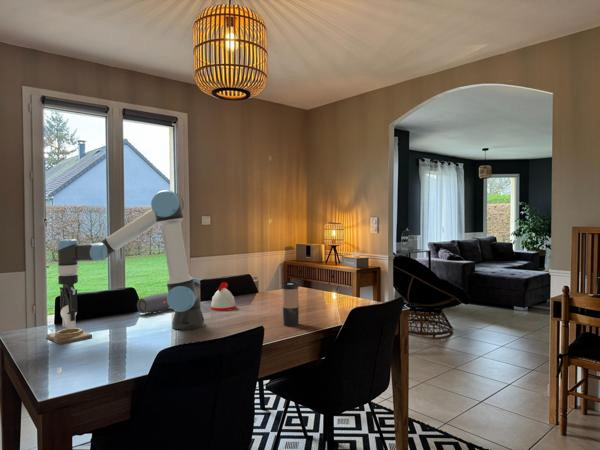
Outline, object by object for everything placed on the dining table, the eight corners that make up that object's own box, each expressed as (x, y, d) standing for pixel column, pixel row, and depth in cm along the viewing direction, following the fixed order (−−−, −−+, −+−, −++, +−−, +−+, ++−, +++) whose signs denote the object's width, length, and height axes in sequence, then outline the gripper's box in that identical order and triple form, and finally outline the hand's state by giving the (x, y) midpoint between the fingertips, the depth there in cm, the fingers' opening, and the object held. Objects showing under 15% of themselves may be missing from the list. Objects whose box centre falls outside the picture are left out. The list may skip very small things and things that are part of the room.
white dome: (240, 307, 247) (239, 281, 247) (225, 311, 235) (225, 284, 235) (221, 305, 254) (220, 280, 254) (205, 309, 242) (205, 283, 242)
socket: (92, 337, 186) (92, 331, 186) (59, 344, 176) (59, 337, 176) (78, 331, 197) (78, 325, 197) (46, 337, 187) (46, 331, 187)
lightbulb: (64, 328, 189) (64, 303, 189) (79, 328, 190) (79, 303, 190) (58, 332, 183) (57, 306, 183) (73, 331, 184) (72, 306, 183)
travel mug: (301, 323, 206) (300, 282, 206) (295, 327, 199) (295, 284, 199) (286, 322, 209) (285, 281, 208) (280, 326, 202) (280, 284, 201)
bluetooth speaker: (147, 316, 227) (147, 297, 227) (136, 314, 232) (136, 296, 231) (180, 308, 246) (180, 291, 246) (169, 307, 251) (169, 290, 251)
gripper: (85, 275, 182) (86, 328, 183) (69, 272, 195) (70, 322, 196) (66, 277, 177) (67, 332, 177) (51, 273, 190) (52, 325, 190)
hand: (69, 326), depth 186 cm, fingers closed on lightbulb, 6 cm apart
